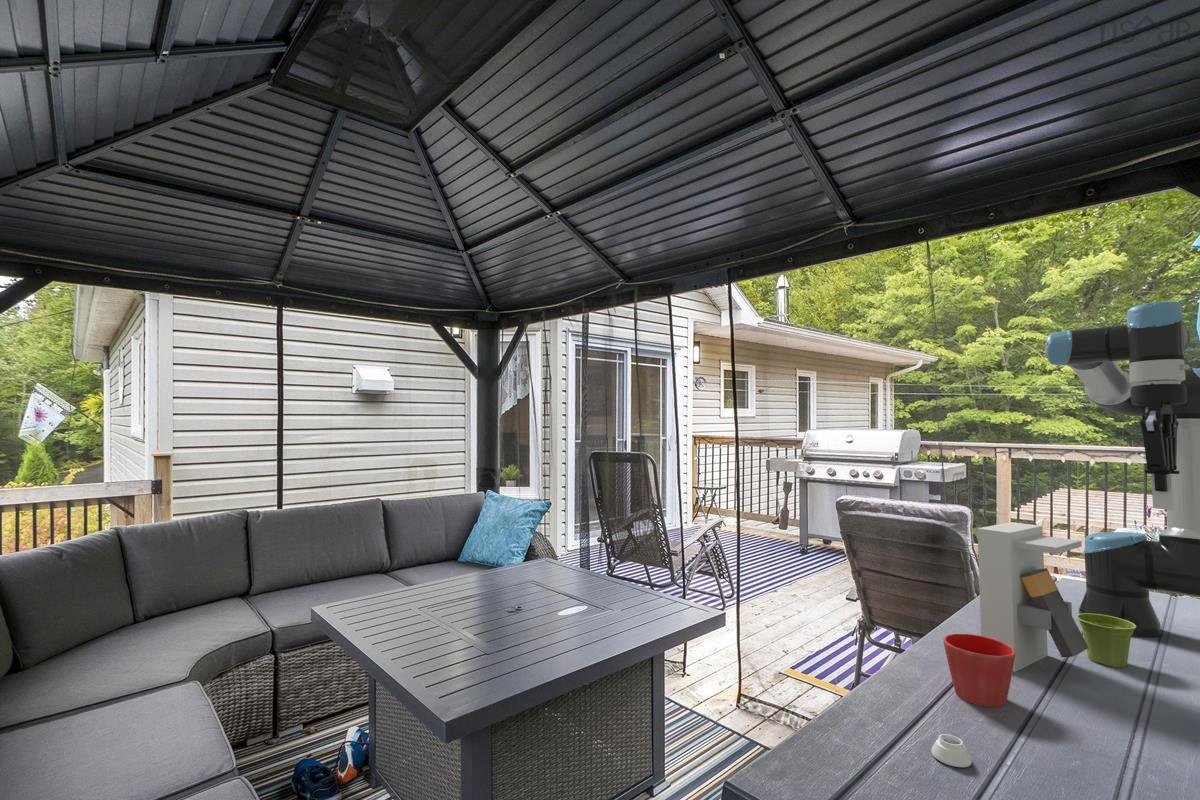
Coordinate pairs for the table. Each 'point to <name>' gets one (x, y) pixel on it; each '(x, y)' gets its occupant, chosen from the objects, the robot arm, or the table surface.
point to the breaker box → (1015, 587)
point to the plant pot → (1107, 638)
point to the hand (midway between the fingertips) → (1164, 508)
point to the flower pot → (980, 668)
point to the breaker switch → (1055, 612)
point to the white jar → (951, 751)
